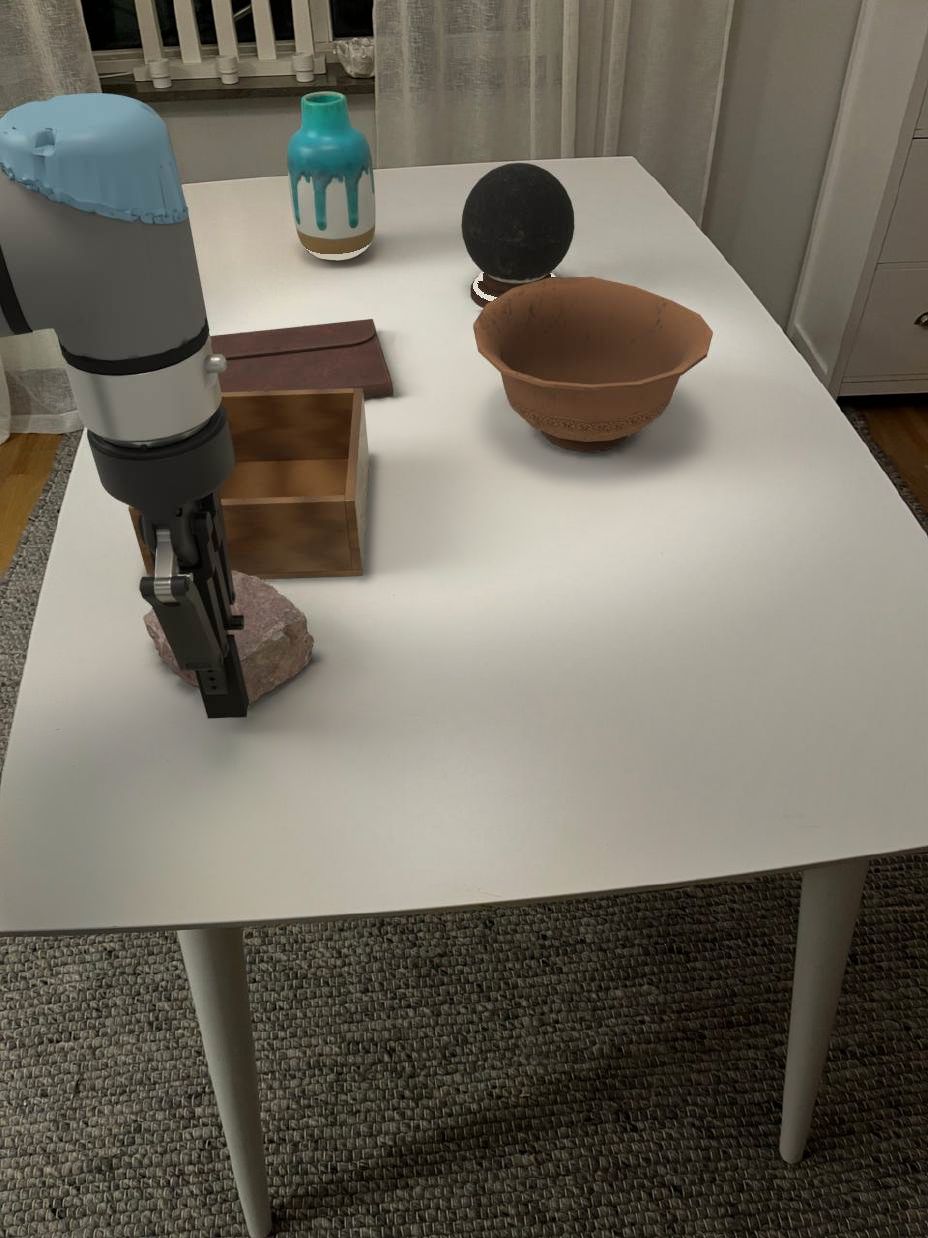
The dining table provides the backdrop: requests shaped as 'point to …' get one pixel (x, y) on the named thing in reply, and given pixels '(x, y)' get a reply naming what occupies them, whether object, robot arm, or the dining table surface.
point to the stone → (254, 637)
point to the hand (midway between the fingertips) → (228, 710)
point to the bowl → (589, 356)
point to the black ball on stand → (516, 227)
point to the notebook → (305, 359)
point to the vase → (331, 178)
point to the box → (294, 484)
